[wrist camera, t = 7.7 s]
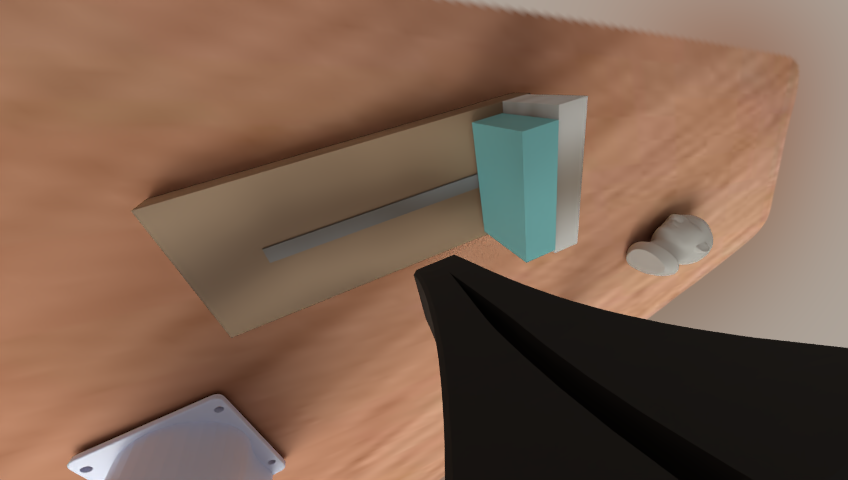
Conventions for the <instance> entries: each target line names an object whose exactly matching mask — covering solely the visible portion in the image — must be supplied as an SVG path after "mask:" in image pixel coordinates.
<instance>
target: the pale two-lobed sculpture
mask: <svg viewBox="0 0 848 480" xmlns="http://www.w3.org/2000/svg"><path fill="white" fill-rule="evenodd" d="M712 245H713V236H712V232H711V230H710V228H709V226H708V224H707V223H706V222H705V221H704V220H702V219H701V218H699V217H696V216H693V215H686V214H684V215H679V214H672V215H670V216H669V217H668V218H667V219H666V221H665V222H664V223H663V224H662V225H661V226H660V227H658V228H657V229H656V231H655V232H654V234H653V235H652V238H651V242H636V243H634V244H632V245H631V246H630V247H629V249H628V251H627V256H626V260H627V262H628V264H629V265H630V266H631V267H633V268H635V269H637V270H639V271H641V272H643V273H646V274H651V275H656V276H667V275H672V274H675V273H676V272H677V271H678V269H679V264H682V265H684V264H691V263H694V262H697V261H699V260H701V259H702V258H704V257H705V256H706V255H707V254H708V253H709V252H710V250H711V248H712Z"/></svg>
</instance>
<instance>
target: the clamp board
mask: <svg viewBox="0 0 848 480" xmlns="http://www.w3.org/2000/svg"><path fill="white" fill-rule="evenodd" d="M587 100H588V96H575V95H535V94H530V93H511V94H507V95H504V96H500V97H497V98H494V99H490V100H487V101H483V102H480V103H476V104H473V105H469V106H466V107H463V108H459V109H456V110H452V111H449V112H445V113H442V114H438V115H435V116H432V117H428V118H425V119H421V120H418V121H414V122H411V123H407V124H404V125H401V126H397V127H394V128H390V129H387V130H383V131H380V132H376V133H373V134H370V135H366V136H363V137H359V138H356V139H352V140H349V141H345V142H342V143H339V144H335V145H332V146H328V147H325V148H321V149H318V150H314V151H311V152H308V153H304V154H301V155H297V156H294V157H290V158H287V159H283V160H280V161H277V162H273V163H270V164H266V165H263V166H259V167H256V168H252V169H249V170H246V171H242V172H239V173H235V174H232V175H228V176H225V177H221V178H218V179H215V180H211V181H208V182H204V183H201V184H197V185H194V186H190V187H187V188H184V189H180V190H177V191H173V192H170V193H166V194H163V195H159V196H156V197H153V198H149V199H146V200H145V201H144V202H142V203H141V204H140V205H138V206H137V207H136V208H134V209H133V210H132V213H133V214H134V215H135V216H136V218H137V219H138V220H139V222H140V223H141V224H142V225H143V227H144V228H145V229H146V230H147V232H148V233H149V234H150V236H151V237H152V238H153V239H154V241H155V242H156V243H157V244H158V246H159V247H160V248H161V249H162V251H163V252H164V253H165V255H166V256H167V257H168V258H169V260H170V261H171V262H172V263H173V265H174V266H175V267H176V268H177V270H178V271H179V272H180V274H181V275H182V276H183V277H184V279H185V280H186V281H187V282H188V284H189V285H190V286H191V287H192V289H193V290H194V291H195V293H196V294H197V295H198V296H199V298H200V299H201V300H202V301H203V303H204V304H205V305H206V307H207V308H208V309H209V310H210V312H211V313H212V314H213V315H214V317H215V318H216V319H217V320H218V322H219V323H220V324H221V326H222V327H223V328H224V329H225V331H226V332H227V333H228V334H229V336H230V337H231V338H232V337H235V336H237V335H240V334H242V333H245V332H247V331H250V330H252V329H255V328H257V327H260V326H262V325H265V324H267V323H270V322H272V321H274V320H277V319H279V318H282V317H284V316H287V315H289V314H292V313H294V312H297V311H299V310H302V309H304V308H307V307H309V306H312V305H314V304H316V303H319V302H321V301H324V300H326V299H329V298H331V297H334V296H336V295H339V294H341V293H344V292H346V291H349V290H351V289H354V288H356V287H358V286H361V285H363V284H366V283H368V282H371V281H373V280H376V279H378V278H381V277H383V276H386V275H388V274H391V273H393V272H396V271H398V270H400V269H403V268H405V267H408V266H410V265H413V264H415V263H418V262H420V261H423V260H425V259H428V258H430V257H433V256H435V255H438V254H440V253H442V252H445V251H447V250H450V249H452V248H455V247H457V246H460V245H462V244H465V243H467V242H470V241H472V240H475V239H477V238H480V237H482V236H484V235H487V233H486V232H485V231H484V223H483V214H482V206H481V197H480V188H479V180H478V171H477V162H476V154H475V145H474V136H473V128H472V122H475V121H478V120H481V119H485V118H488V117H491V116H494V115H498V114H501V113H505V114H514V115H522V116H531V117H539V118H548V119H556V120H559V132H558V169H557V206H556V243H555V250H554V251H553V252H554V253H556V252H559V251H561V250H563V249H565V248H568V247H570V246H572V245H574V244H577V239H578V225H579V211H580V197H581V183H582V170H583V156H584V142H585V128H586V114H587Z"/></svg>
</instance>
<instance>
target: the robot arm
mask: <svg viewBox="0 0 848 480" xmlns="http://www.w3.org/2000/svg"><path fill="white" fill-rule="evenodd" d="M414 277H415V281H416V284H417V288H418V292H419V295H420V299H421V303H422V306H423V310H424V313H425V317H426V320H427V322H428V324H429V326H430V329H431V331H432V333H433V336H434V338H435V341H436V345H437V351H438V358H439V367H440V376H441V387H442V401H443V417H444V440H445V480H848V348H843V347H834V346H824V345H816V344H807V343H797V342H789V341H779V340H771V339H761V338H753V337H745V336H738V335H732V334H725V333H719V332H712V331H706V330H699V329H693V328H688V327H682V326H676V325H671V324H665V323H660V322H655V321H651V320H646V319H641V318H637V317H632V316H627V315H623V314H619V313H614V312H610V311H606V310H602V309H599V308H595V307H591V306H588V305H584V304H581V303H577V302H573V301H570V300H567V299H564V298H560V297H557V296H554V295H552V294H549V293H546V292H543V291H540V290H537V289H534V288H532V287H529V286H526V285H524V284H521V283H518V282H516V281H513V280H511V279H508V278H506V277H504V276H501V275H499V274H497V273H494V272H492V271H490V270H487V269H485V268H483V267H481V266H478V265H476V264H474V263H472V262H470V261H467V260H465V259H463V258H461V257H458V256H456V255H452V256H450V257H447V258H445V259H442V260H440V261H438V262H435V263H433V264H430V265H428V266H425V267H423V268H420V269H418V270H416V272H415V274H414ZM67 467H68V468H69V469H70V470H71V471H73V472H75V473H77V474H78V475H80V476H82V477H84V478H86V479H87V480H272V478H273V475H274V474H276V473H278V472H280V471H281V470H283V469H284V468H285V460H284V459H283V458H282V457H281V456H280V455H279V454H278V453H277V451H276V450H275V449H274V448H273V447H272V446H271V445H270V444H269V443H268V442H267V441H266V440H265V439H264V438H263V437H262V436H261V435H260V434H259V432H258V431H257V430H256V429H255V428H254V427H253V426H252V425H251V424H250V423H249V422H248V421H247V420H246V419H245V418H244V417H243V416H242V414H241V413H240V412H239V411H238V410H237V409H236V408H235V407H234V406H233V405H232V404H231V403H230V402H229V401H228V400H227V399H226V398H225V397H224V396H223V395H221V394H214V395H211V396H209V397H206V398H204V399H202V400H200V401H197V402H195V403H193V404H191V405H188V406H186V407H184V408H181V409H179V410H177V411H175V412H172V413H170V414H168V415H165V416H163V417H161V418H159V419H156V420H154V421H152V422H149V423H147V424H145V425H143V426H140V427H138V428H136V429H134V430H131V431H129V432H127V433H124V434H122V435H120V436H118V437H115V438H113V439H111V440H108V441H106V442H104V443H102V444H99V445H97V446H95V447H93V448H90V449H88V450H86V451H83V452H81V453H79V454H77V455H75V456H73V457H72V458H71V460H70V461H69V463H68V465H67Z"/></svg>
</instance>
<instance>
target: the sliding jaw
mask: <svg viewBox="0 0 848 480" xmlns="http://www.w3.org/2000/svg"><path fill="white" fill-rule="evenodd" d="M472 128H473V136H474V145H475V154H476V162H477V171H478V180H479V188H480V197H481V206H482V214H483V223H484V231H485V232H486V233H487V234H489V235H490V236H491V237H493V238H494V239H495V240H497V241H498V242H499V243H501V244H502V245H503V246H505V247H506V248H508V249H509V250H510V251H512V252H513V253H514V254H516V255H517V256H518V257H520V258H521V259H522V260H524V261H525V262H526V263H527V262H529V261H531V260H533V259H536V258H538V257H540V256H542V255H545V254H547V253H549V252H551V251H554V250H555V243H556V206H557V169H558V132H559V120H556V119H548V118H539V117H531V116H522V115H514V114H505V113H501V114H498V115H494V116H491V117H488V118H485V119H481V120H478V121H475V122H472Z"/></svg>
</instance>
